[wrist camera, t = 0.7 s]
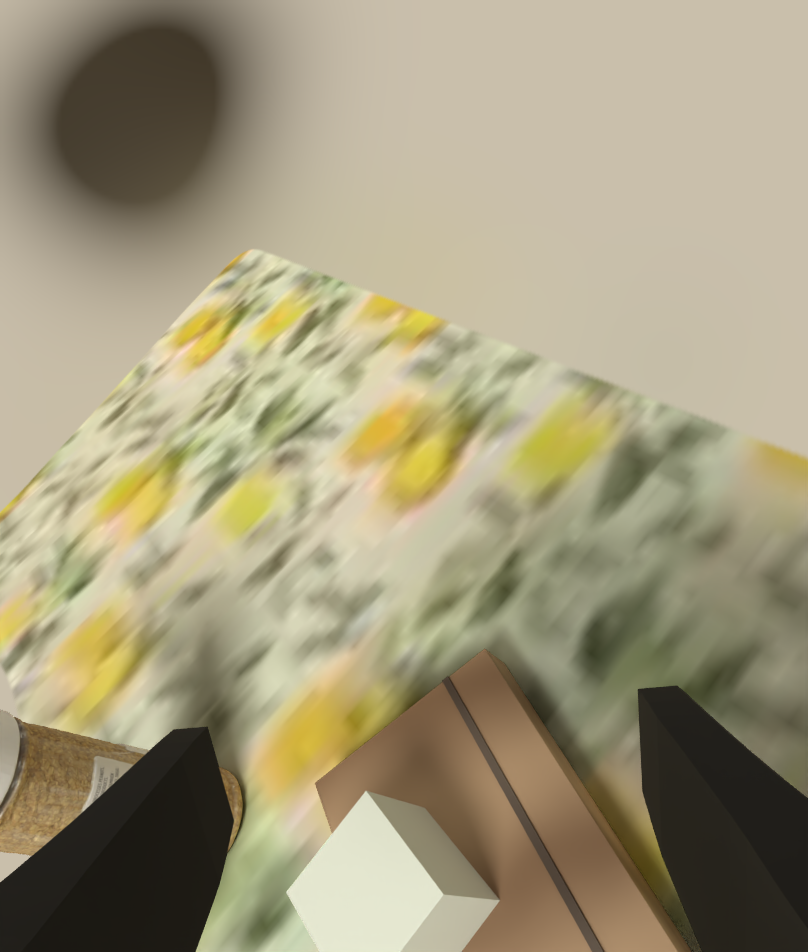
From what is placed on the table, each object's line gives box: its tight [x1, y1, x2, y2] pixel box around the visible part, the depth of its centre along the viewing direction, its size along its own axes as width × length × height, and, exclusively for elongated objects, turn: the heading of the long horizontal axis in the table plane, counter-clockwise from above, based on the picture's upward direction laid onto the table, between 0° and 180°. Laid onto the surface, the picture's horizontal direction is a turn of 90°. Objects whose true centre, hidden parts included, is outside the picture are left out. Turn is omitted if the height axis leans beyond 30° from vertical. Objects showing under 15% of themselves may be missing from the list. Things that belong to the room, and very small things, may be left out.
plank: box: [315, 649, 692, 952], centre depth 22 cm, size 16×9×2 cm, turn 27°
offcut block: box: [286, 791, 500, 952], centre depth 21 cm, size 4×4×4 cm
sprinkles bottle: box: [0, 710, 243, 856], centre depth 27 cm, size 5×5×14 cm
